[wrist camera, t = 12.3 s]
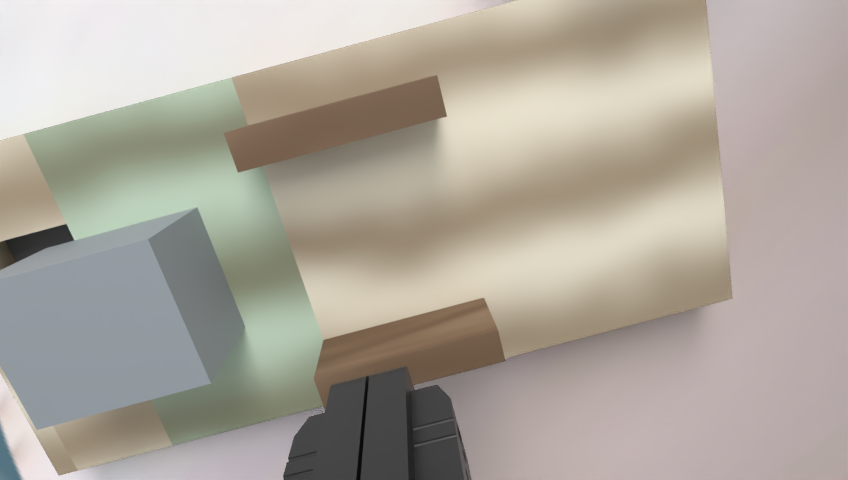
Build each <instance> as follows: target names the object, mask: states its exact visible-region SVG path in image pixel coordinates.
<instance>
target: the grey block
mask: <svg viewBox="0 0 848 480" xmlns="http://www.w3.org/2000/svg"><path fill="white" fill-rule="evenodd" d="M244 327H245V325H244V322H243V320H242V317H241V315H240V312H239V310H238V307H237V305H236V302H235V300H234V297H233V295H232V292H231V290H230V287H229V285H228V282H227V280H226V277H225V275H224V272H223V270H222V267H221V265H220V262H219V260H218V257H217V255H216V252H215V250H214V247H213V245H212V242H211V240H210V237H209V235H208V232H207V230H206V228H205V225H204V223H203V220H202V218H201V215H200V213H199V210H198V208H197V207H196V208H192V209H189V210H185V211H181V212H178V213H174V214H170V215H166V216H163V217H159V218H155V219H152V220H148V221H144V222H141V223H137V224H133V225H130V226H126V227H122V228H119V229H115V230H111V231H108V232H104V233H100V234H97V235H93V236H89V237H85V238H82V239H78V240H74V241H71V242H67V243H63V244H60V245H56V246H52V247H49V248H45V249H43V250H41V251H39V252H37V253H35V254H33V255H31V256H29V257H27V258H25V259H22V260H20V261H18V262H16V263H14V264H12V265H10V266H8V267H6V268H4V269H2V270H0V366H1V368H2V370H3V372H4V373H5V375H6V377H7V379H8V380H9V382H10V384H11V386H12V387H13V389H14V391H15V393H16V394H17V396H18V398H19V400H20V401H21V403H22V405H23V407H24V408H25V410H26V412H27V414H28V415H29V417H30V419H31V421H32V422H33V424H34V426H35V428H36V430H39V429H43V428H46V427H50V426H54V425H58V424H61V423H65V422H69V421H73V420H76V419H80V418H84V417H88V416H91V415H95V414H99V413H103V412H106V411H110V410H114V409H118V408H121V407H125V406H129V405H133V404H136V403H140V402H144V401H148V400H151V399H155V398H159V397H163V396H166V395H170V394H174V393H178V392H181V391H185V390H189V389H193V388H196V387H200V386H204V385H208V384H211V383H212V381H213V379H214V378H215V376H216V374H217V373H218V371H219V369H220V368H221V366H222V364H223V363H224V361H225V359H226V358H227V356H228V354H229V352H230V351H231V349H232V347H233V346H234V344H235V342H236V341H237V339H238V337H239V336H240V334H241V332H242V330H243V329H244Z"/></svg>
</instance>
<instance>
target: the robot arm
mask: <svg viewBox="0 0 848 480" xmlns="http://www.w3.org/2000/svg"><path fill="white" fill-rule="evenodd" d="M288 459H289V462H287V465H286V468H285V472H284V475H283V477H284V480H471V475H470V470H469V465H468V460H467V457H466V453H465V449H464V446H463V442H462V439H461V435H460V431H459V428H458V424H457V420H456V417H455V413H454V410H453V406H452V402H451V399H450V397H449V396H448V395H447V394H446V393H445V392H444V391H443V390H442V389H441V388H440V387H439V386H438V385H434V386H430V387H426V388H422V389H418V390H414V386H413V383H412V380H411V376H410V373H409V371H408V368H407V367H406V366H403V367H399V368H395V369H391V370H387V371H383V372H379V373H375V374H371V375H370V376H364V377H360V378H356V379H352V380H348V381H344V382H340V383H336V384H332V385H331V386H330V390H329V395H328V400H327V405H326V410H325V413H322V414H318V415H314V416H310V417H309V418H308V419H307V421H306V422H305V423H304V425H303V426H302V427H301V429H300V430H299V431H298V433H297V434H296V435H295V437H294V439H293V443H292V446H291V450H290V454H289V457H288Z"/></svg>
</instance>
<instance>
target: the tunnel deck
mask: <svg viewBox="0 0 848 480" xmlns="http://www.w3.org/2000/svg"><path fill="white" fill-rule="evenodd" d="M196 207H197V208H198V210H199V213H200V215H201V218H202V220H203V223H204V225H205V228H206V230H207V232H208V235H209V237H210V240H211V242H212V245H213V247H214V250H215V252H216V255H217V257H218V260H219V262H220V265H221V267H222V270H223V272H224V275H225V277H226V280H227V282H228V285H229V287H230V290H231V292H232V295H233V297H234V300H235V302H236V305H237V307H238V310H239V312H240V315H241V317H242V320H243V322H244V325H245V327H244V329H243V330H242V332H241V334H240V336H239V337H238V339H237V341H236V342H235V344H234V346H233V347H232V349H231V351H230V352H229V354H228V356H227V358H226V359H225V361H224V363H223V364H222V366H221V368H220V369H219V371H218V373H217V374H216V376H215V378H214V379H213V381H212V383H211V384H208V385H204V386H200V387H196V388H193V389H189V390H185V391H181V392H178V393H174V394H170V395H166V396H163V397H159V398H155V399H151V400H148V401H144V402H140V403H136V404H133V405H129V406H125V407H121V408H118V409H114V410H110V411H106V412H103V413H99V414H95V415H91V416H88V417H84V418H80V419H76V420H73V421H69V422H65V423H61V424H58V425H54V426H50V427H46V428H43V429H39V430H36V428H35V426H34V424H33V422H32V421H31V419H30V417H29V415H28V414H27V412H26V410H25V408H24V407H23V405H22V403H21V401H20V400H19V398H18V396H17V394H16V393H15V391H14V389H13V387H12V386H11V384H10V382H9V380H8V379H7V377H6V375H5V373H4V372H3V370H2V368H1V366H0V373H1V375H2V376H3V378H4V380H5V382H6V383H7V385H8V387H9V389H10V391H11V392H12V394H13V396H14V398H15V399H16V401H17V403H18V405H19V406H20V408H21V410H22V412H23V413H24V415H25V417H26V419H27V420H28V422H29V424H30V426H31V427H32V429H33V431H34V433H35V435H36V436H37V438H38V440H39V442H40V443H41V445H42V447H43V449H44V450H45V452H46V454H47V456H48V457H49V459H50V461H51V463H52V464H53V466H54V468H55V470H56V471H57V473H58V475H63V474H66V473H70V472H74V471H78V470H82V469H86V468H89V467H93V466H97V465H101V464H105V463H108V462H112V461H116V460H120V459H124V458H127V457H131V456H135V455H139V454H143V453H146V452H150V451H154V450H158V449H162V448H165V447H169V446H173V445H177V444H181V443H185V442H188V441H192V440H196V439H200V438H204V437H207V436H211V435H215V434H219V433H223V432H226V431H230V430H234V429H238V428H242V427H245V426H249V425H253V424H257V423H261V422H264V421H268V420H272V419H276V418H280V417H284V416H287V415H291V414H295V413H299V412H303V411H306V410H310V409H314V408H318V407H322V406H324V408H326V405H327V400H328V395H329V390H330V386H331V385H332V384H336V383H340V382H344V381H348V380H352V379H356V378H360V377H364V376H370V375H371V374H375V373H379V372H383V371H387V370H391V369H395V368H399V367H403V366H406V367H407V368H408V371H409V373H410V376H411V380H412V383H413V385H416V384H419V383H423V382H427V381H431V380H435V379H438V378H442V377H446V376H450V375H454V374H458V373H461V372H465V371H469V370H473V369H477V368H480V367H484V366H488V365H492V364H496V363H499V362H503V361H505V358H508V357H512V356H516V355H520V354H523V353H527V352H531V351H535V350H539V349H542V348H546V347H550V346H554V345H558V344H562V343H565V342H569V341H573V340H577V339H581V338H584V337H588V336H592V335H596V334H600V333H603V332H607V331H611V330H615V329H619V328H622V327H626V326H630V325H634V324H638V323H642V322H645V321H649V320H653V319H657V318H661V317H664V316H668V315H672V314H676V313H680V312H683V311H687V310H691V309H695V308H699V307H702V306H706V305H710V304H714V303H718V302H721V301H725V300H729V299H732V287H731V276H730V265H729V254H728V243H727V231H726V220H725V209H724V198H723V187H722V175H721V164H720V153H719V142H718V131H717V119H716V108H715V97H714V86H713V75H712V63H711V52H710V41H709V30H708V19H707V7H706V0H516V1H512V2H509V3H505V4H501V5H498V6H494V7H490V8H486V9H483V10H479V11H475V12H472V13H468V14H464V15H461V16H457V17H453V18H450V19H446V20H442V21H439V22H435V23H431V24H428V25H424V26H420V27H416V28H413V29H409V30H405V31H402V32H398V33H394V34H391V35H387V36H383V37H380V38H376V39H372V40H369V41H365V42H361V43H358V44H354V45H350V46H346V47H343V48H339V49H335V50H332V51H328V52H324V53H321V54H317V55H313V56H310V57H306V58H302V59H299V60H295V61H291V62H288V63H284V64H280V65H277V66H273V67H269V68H265V69H262V70H258V71H254V72H251V73H247V74H243V75H240V76H236V77H232V78H229V79H225V80H221V81H218V82H214V83H210V84H207V85H203V86H199V87H195V88H192V89H188V90H184V91H181V92H177V93H173V94H170V95H166V96H162V97H159V98H155V99H151V100H148V101H144V102H140V103H137V104H133V105H129V106H125V107H122V108H118V109H114V110H111V111H107V112H103V113H100V114H96V115H92V116H89V117H85V118H81V119H78V120H74V121H70V122H67V123H63V124H59V125H55V126H52V127H48V128H44V129H41V130H37V131H33V132H30V133H26V134H22V135H19V136H15V137H11V138H8V139H4V140H0V270H2V269H4V268H6V267H8V266H10V265H12V264H14V263H16V262H18V261H20V260H22V259H25V258H27V257H29V256H31V255H33V254H35V253H37V252H39V251H41V250H43V249H45V248H49V247H52V246H56V245H60V244H63V243H67V242H71V241H74V240H78V239H82V238H85V237H89V236H93V235H97V234H100V233H104V232H108V231H111V230H115V229H119V228H122V227H126V226H130V225H133V224H137V223H141V222H144V221H148V220H152V219H155V218H159V217H163V216H166V215H170V214H174V213H178V212H181V211H185V210H189V209H192V208H196Z"/></svg>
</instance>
